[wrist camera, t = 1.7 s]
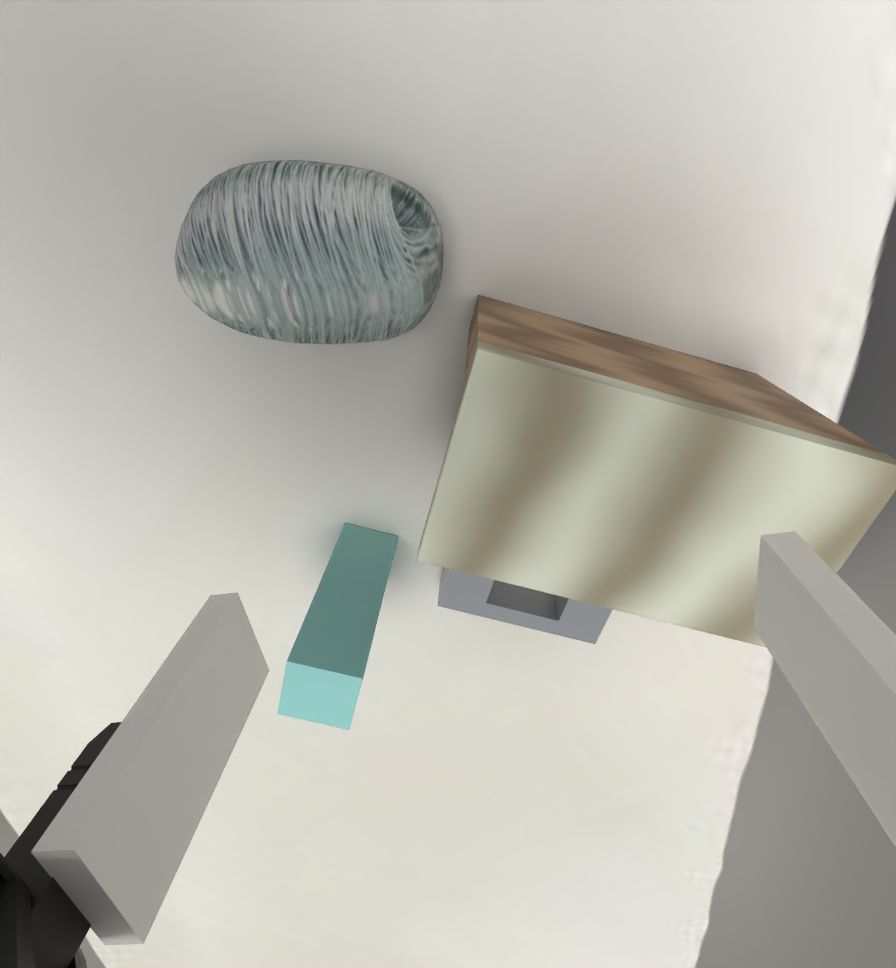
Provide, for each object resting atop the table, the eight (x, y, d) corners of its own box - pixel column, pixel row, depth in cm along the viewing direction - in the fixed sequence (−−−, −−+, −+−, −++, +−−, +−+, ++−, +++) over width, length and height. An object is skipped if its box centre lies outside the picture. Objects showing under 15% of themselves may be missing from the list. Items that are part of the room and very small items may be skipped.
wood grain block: (437, 443, 38) (416, 560, 26) (478, 295, 34) (477, 349, 21) (685, 509, 39) (780, 650, 27) (756, 374, 35) (910, 469, 23)
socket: (440, 580, 43) (437, 605, 41) (492, 414, 37) (493, 431, 34) (588, 617, 44) (595, 643, 41) (663, 460, 38) (677, 480, 35)
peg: (336, 565, 43) (277, 713, 31) (345, 522, 41) (286, 661, 29) (386, 578, 44) (349, 729, 31) (398, 536, 42) (362, 678, 29)
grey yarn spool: (467, 134, 27) (390, 241, 22) (465, 301, 35) (408, 413, 29) (224, 103, 30) (100, 191, 25) (271, 264, 38) (185, 360, 32)
